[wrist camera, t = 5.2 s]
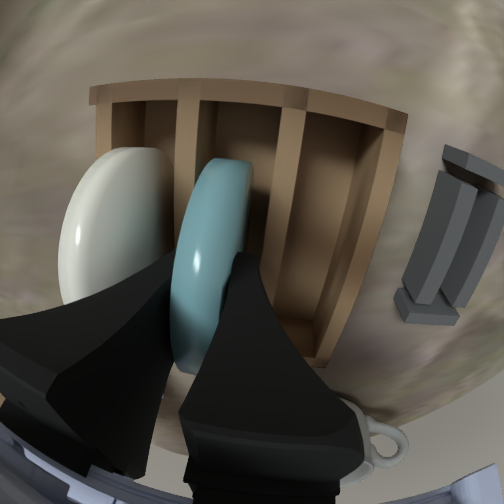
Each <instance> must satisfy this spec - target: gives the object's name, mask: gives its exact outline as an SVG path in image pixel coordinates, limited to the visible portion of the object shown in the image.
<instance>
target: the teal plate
mask: <svg viewBox="0 0 504 504" xmlns="http://www.w3.org/2000/svg"><path fill="white" fill-rule="evenodd" d="M253 187H254V167H253V163H252V162H249V161H241V160H233V159H223V158H214V159H212V160H211V161H210V162H208V164H207V165H206V166H205V168H204V169H203V171H202V173H201V174H200V176H199V178H198V180H197V182H196V185H195V187H194V189H193V192H192V195H191V197H190V200H189V203H188V206H187V209H186V212H185V216H184V219H183V223H182V227H181V231H180V235H179V240H178V244H177V250H176V255H175V261H174V267H173V275H172V283H171V295H170V339H171V347H172V353H173V357H174V361H175V363H176V366H177V368H178V369H179V370H180V371H181V372H183V373H187V374H192V375H196V376H197V373H198V371H199V369H200V367H201V364H202V362H203V360H204V358H205V355H206V353H207V351H208V348H209V346H210V343H211V341H212V338H213V336H214V333H215V331H216V328H217V326H218V323H219V320H220V317H221V315H222V312H223V309H224V306H225V302H226V298H227V293H228V287H229V281H230V275H231V269H232V263H233V259H234V257H235V255H236V253H237V252H243V253H246V252H247V244H248V237H249V229H250V220H251V211H252V200H253Z"/></svg>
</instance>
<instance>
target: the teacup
mask: <svg viewBox="0 0 504 504" xmlns="http://www.w3.org/2000/svg"><path fill="white" fill-rule="evenodd" d="M339 398H340V397H339ZM340 399H341V400H342V401H343V402H345V403H346V404H347V405H348V406H349V407H350V408H351V409H352V410H353V411H354V412H355V413H356V416H357V419H358V422H359V426H360V430H361V433H362V437H363V442H364V452H365V458H364V462H363V463H362V464H361V465H360V466H359V467H358V468H357V469H356V470H355V471H353V472H352V473H350V474H348V475H347V476H345V477H344V478H342V479H340V488H342V487H346V486H349V485H352V484H355V483H358V482H360V481H362V480H364V479H366V478H367V477H368V476H369V475H371V474H372V472H373V471H374V466H375V467H378V468H390V467H393V466H396V465H397V464H399V463H400V462H401V461H402V460H403V459H404V457H405V456H406V454H407V451H408V447H409V442H408V439H407V436H406V435H405V433H403V431H402V430H400V429H399V428H397V427H395V426H392V425H389V424H386V423H382V422H378V421H375V420H374V419H373V418H372V417H371V416H368V415H366V416H364V414H363V412H362V411H361V410H360V408H359V407H357V406H356V405H355V404H353V403H352V402H350V401H348V400H345V399H342V398H340ZM369 432H373V433H379V434H383V435H386V436H388V437H390V438H392V439H393V440H394V441H395V442H396V443H397V445H398V451H397V453H396V454H395V455H394V456H392V457H382V456H381V455H380V454H379V453H378V452H377V450H376V448H375V446H374V445H372V444H371V441H370V434H369Z"/></svg>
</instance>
